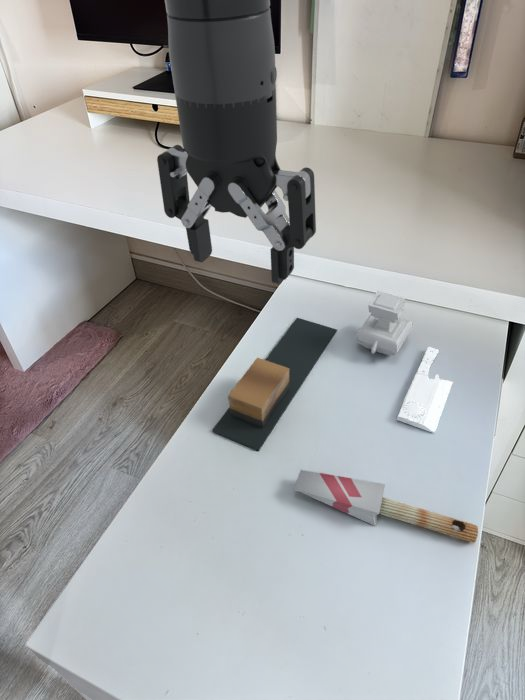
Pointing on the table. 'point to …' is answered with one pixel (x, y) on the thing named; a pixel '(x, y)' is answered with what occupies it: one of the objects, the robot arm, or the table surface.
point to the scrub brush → (259, 392)
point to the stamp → (384, 325)
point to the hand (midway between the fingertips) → (241, 268)
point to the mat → (300, 357)
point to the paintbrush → (375, 503)
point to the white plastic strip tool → (425, 396)
